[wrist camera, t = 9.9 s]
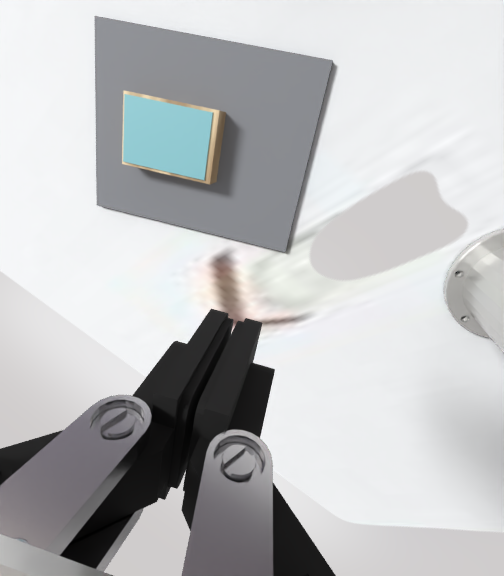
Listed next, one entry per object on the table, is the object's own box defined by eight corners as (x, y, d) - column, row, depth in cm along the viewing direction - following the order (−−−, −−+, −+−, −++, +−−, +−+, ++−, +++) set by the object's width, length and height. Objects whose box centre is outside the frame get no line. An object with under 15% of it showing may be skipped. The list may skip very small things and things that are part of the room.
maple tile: (219, 110, 32) (122, 90, 33) (209, 184, 35) (121, 164, 36) (226, 112, 34) (135, 93, 35) (216, 182, 37) (133, 162, 38)
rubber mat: (332, 61, 31) (332, 60, 31) (285, 250, 39) (285, 252, 39) (98, 17, 34) (94, 15, 33) (99, 204, 42) (96, 205, 41)
